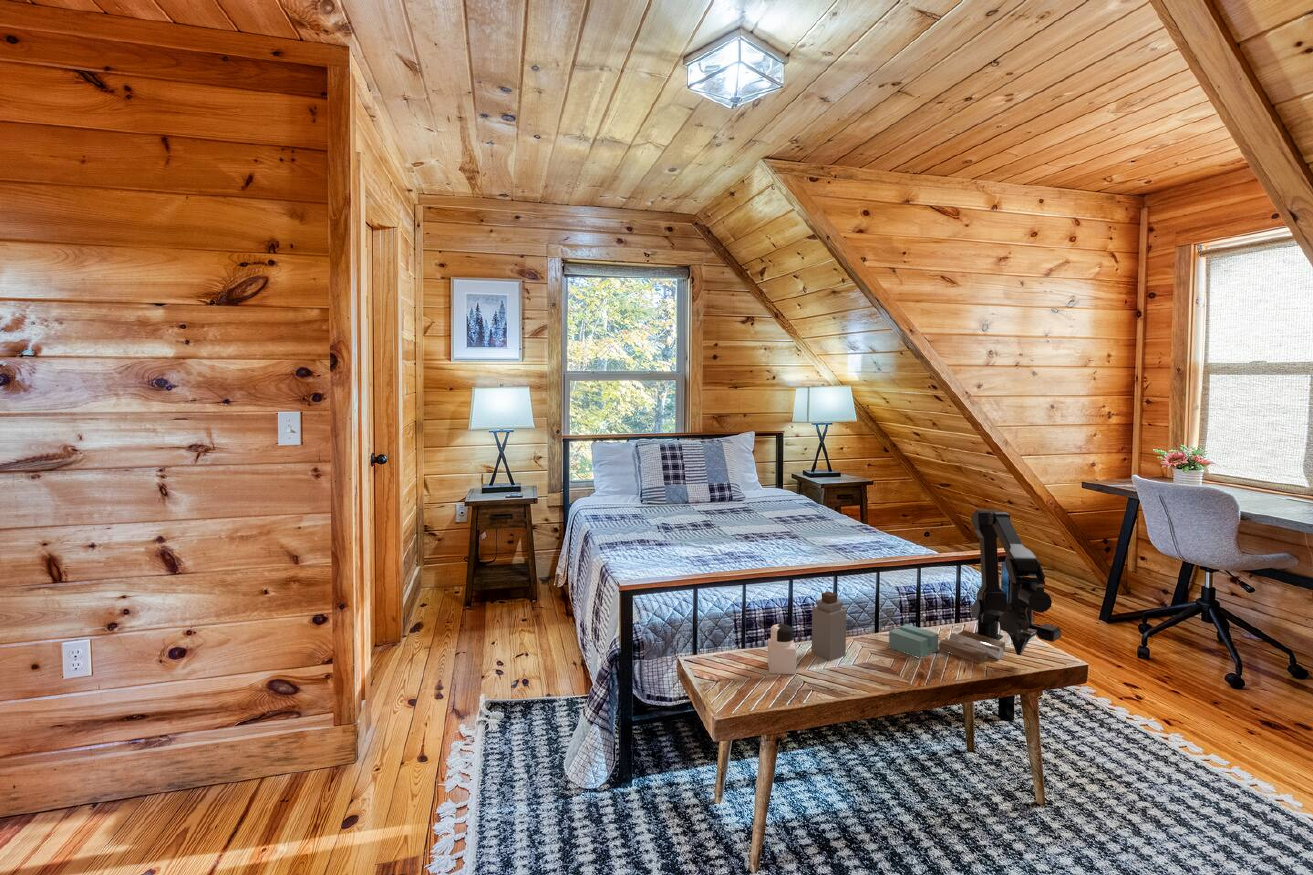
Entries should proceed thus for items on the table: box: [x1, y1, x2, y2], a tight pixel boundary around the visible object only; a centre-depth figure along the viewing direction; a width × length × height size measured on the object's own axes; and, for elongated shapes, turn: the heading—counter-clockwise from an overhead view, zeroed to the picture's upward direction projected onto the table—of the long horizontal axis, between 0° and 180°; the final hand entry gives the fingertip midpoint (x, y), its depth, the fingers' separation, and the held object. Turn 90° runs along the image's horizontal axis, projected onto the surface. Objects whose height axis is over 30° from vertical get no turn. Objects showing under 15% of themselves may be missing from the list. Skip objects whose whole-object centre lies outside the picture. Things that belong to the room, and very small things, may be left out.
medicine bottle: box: [767, 623, 797, 675], centre depth 174 cm, size 7×7×12 cm
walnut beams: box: [938, 629, 1006, 665], centre depth 187 cm, size 15×12×2 cm
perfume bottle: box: [811, 590, 847, 662], centre depth 183 cm, size 7×7×18 cm
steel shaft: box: [949, 632, 1004, 661], centre depth 186 cm, size 14×4×4 cm, turn 38°
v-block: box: [888, 623, 939, 659], centre depth 187 cm, size 10×10×5 cm
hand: (1018, 654), depth 176 cm, fingers closed
